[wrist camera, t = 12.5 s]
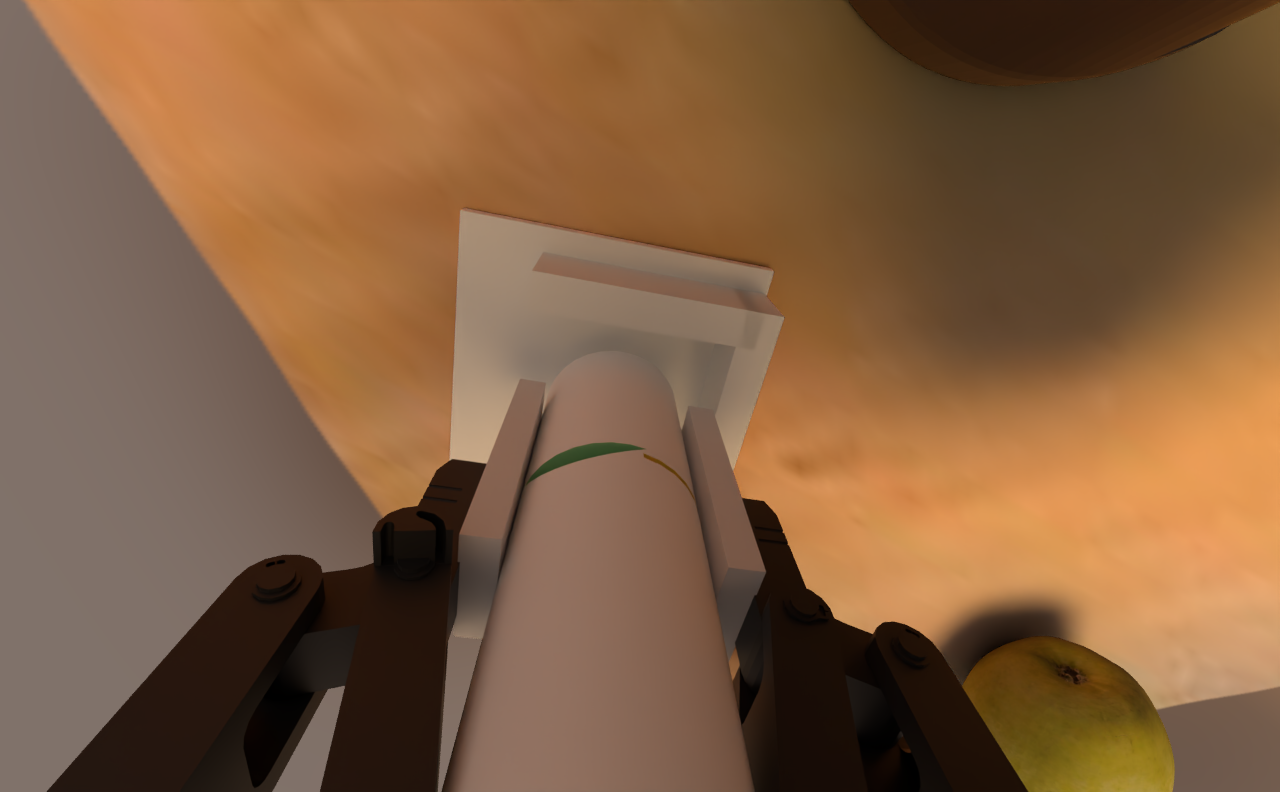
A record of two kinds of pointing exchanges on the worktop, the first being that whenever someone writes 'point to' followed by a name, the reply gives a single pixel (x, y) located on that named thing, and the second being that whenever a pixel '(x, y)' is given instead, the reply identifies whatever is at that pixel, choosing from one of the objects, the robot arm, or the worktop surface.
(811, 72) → the worktop surface
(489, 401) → the notch board
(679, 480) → the tube
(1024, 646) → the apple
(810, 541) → the worktop surface
